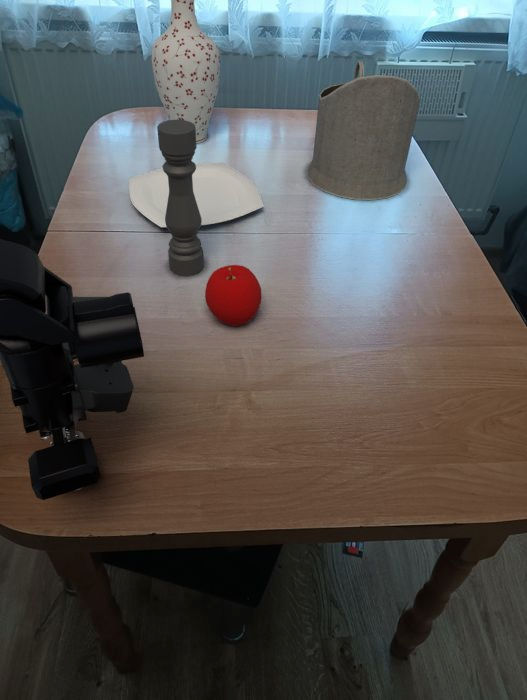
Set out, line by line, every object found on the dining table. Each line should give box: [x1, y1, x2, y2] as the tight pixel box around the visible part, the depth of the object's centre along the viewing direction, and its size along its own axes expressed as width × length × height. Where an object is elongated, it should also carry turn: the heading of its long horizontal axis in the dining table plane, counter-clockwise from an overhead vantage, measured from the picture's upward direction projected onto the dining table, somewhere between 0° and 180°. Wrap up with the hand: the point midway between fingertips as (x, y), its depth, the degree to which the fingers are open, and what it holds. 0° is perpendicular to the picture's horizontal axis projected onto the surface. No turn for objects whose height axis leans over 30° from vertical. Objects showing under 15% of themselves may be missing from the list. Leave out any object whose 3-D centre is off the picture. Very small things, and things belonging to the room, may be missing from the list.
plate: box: [128, 162, 264, 229], centre depth 115 cm, size 27×27×2 cm
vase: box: [150, 0, 221, 145], centre depth 127 cm, size 16×16×35 cm
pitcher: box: [306, 60, 421, 201], centre depth 121 cm, size 23×32×25 cm
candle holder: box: [156, 119, 205, 277], centre depth 89 cm, size 6×6×25 cm
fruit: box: [204, 264, 263, 327], centre depth 84 cm, size 9×9×10 cm
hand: (71, 461), depth 64 cm, fingers open, 5 cm apart
